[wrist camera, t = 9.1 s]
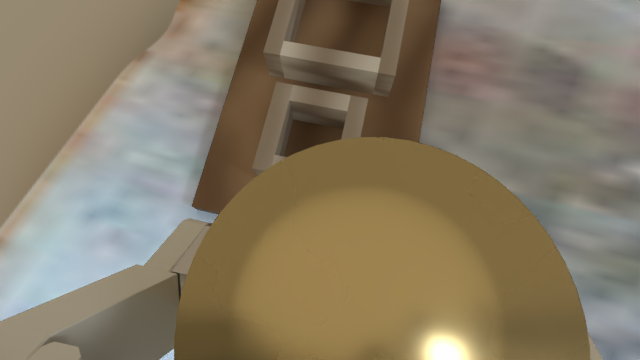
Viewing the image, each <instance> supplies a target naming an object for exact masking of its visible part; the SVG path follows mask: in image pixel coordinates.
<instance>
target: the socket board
mask: <svg viewBox="0 0 640 360" xmlns="http://www.w3.org/2000/svg"><path fill="white" fill-rule="evenodd" d="M440 4H441V0H257V3H256V6H255V9H254V12H253V16H252V19H251V22H250V25H249V28H248V31H247V34H246V37H245V41H244V44H243V47H242V50H241V53H240V56H239V59H238V63H237V66H236V69H235V72H234V75H233V78H232V81H231V84H230V88H229V91H228V94H227V97H226V100H225V103H224V106H223V110H222V113H221V116H220V119H219V122H218V125H217V128H216V131H215V135H214V138H213V141H212V144H211V147H210V150H209V153H208V157H207V160H206V163H205V166H204V169H203V172H202V175H201V178H200V182H199V185H198V188H197V191H196V194H195V197H194V200H193V204H192V207H194V208H196V209H198V210H202V211H207V212H212V213H216V214H219V213H220V212H221V211H222V210H223V209H224V208H225V206H226V205H227V204H228V203H229V202H230V201H231V200H232V198H233V197H234V196H235V195H236V194H237V193H238V192H239V191H240V190H242V189H243V188H244V187H245V186H246V185H247V184H248V183H249V182H250V181H252V180H253V179H254V178H255V177H257V176H258V175H259V174H261V173H262V172H264V171H265V170H267V169H268V168H269V167H271V166H272V165H274V164H276V163H278V162H280V161H281V160H283V159H285V158H287V157H289V156H291V155H293V154H295V153H297V152H300V151H303V150H305V149H308V148H311V147H313V146H316V145H320V144H324V143H328V142H332V141H336V140H342V139H351V138H359V137H387V138H395V139H402V140H409V141H413V142H417V143H419V138H420V132H421V125H422V119H423V113H424V106H425V100H426V93H427V87H428V81H429V74H430V68H431V61H432V55H433V49H434V42H435V36H436V29H437V23H438V16H439V10H440Z"/></svg>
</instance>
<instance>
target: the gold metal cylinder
mask: <svg viewBox="0 0 640 360" xmlns="http://www.w3.org/2000/svg"><path fill="white" fill-rule="evenodd" d="M174 360H591V359H590V344H589V338H588V332H587V327H586V321H585V316H584V312H583V309H582V306H581V302H580V299H579V296H578V292H577V289H576V287H575V284H574V282H573V280H572V277H571V275H570V273H569V270H568V268H567V266H566V263H565V261H564V260H563V258H562V256H561V255H560V253H559V251H558V249H557V248H556V246H555V244H554V242H553V241H552V239H551V237H550V236H549V235H548V233H547V232H546V231H545V229H544V228H543V227H542V225H541V224H540V223H539V221H538V220H537V218H536V217H535V216H534V215H533V214H532V213H531V212H530V211H529V209H528V208H527V207H526V206H525V205H524V204H523V203H522V202H521V201H520V200H519V199H518V198H517V197H516V196H515V195H514V194H513V193H512V192H511V191H509V190H508V189H507V188H506V187H505V186H503V185H502V184H501V183H500V182H499V181H498V180H496V179H495V178H493V177H492V176H490V175H489V174H487V173H486V172H484V171H483V170H481V169H480V168H478V167H477V166H475V165H473V164H471V163H470V162H468V161H466V160H464V159H462V158H460V157H458V156H456V155H454V154H451V153H449V152H446V151H443V150H441V149H438V148H436V147H433V146H430V145H426V144H422V143H417V142H413V141H409V140H402V139H395V138H387V137H359V138H351V139H342V140H336V141H332V142H328V143H324V144H320V145H316V146H313V147H311V148H308V149H305V150H303V151H300V152H297V153H295V154H293V155H291V156H289V157H287V158H285V159H283V160H281V161H280V162H278V163H276V164H274V165H272V166H271V167H269V168H268V169H267V170H265V171H264V172H262V173H261V174H259V175H258V176H257V177H255V178H254V179H253V180H252V181H250V182H249V183H248V184H247V185H246V186H245V187H244V188H243V189H242V190H240V191H239V192H238V193H237V194H236V195H235V196H234V197H233V198H232V200H231V201H230V202H229V203H228V204H227V205H226V206H225V208H224V209H223V210H222V211H221V212H220V213H219V215H218V216H217V218H216V219H215V221H214V222H213V224H212V225H211V227H210V228H209V230H208V231H207V233H206V234H205V236H204V238H203V240H202V242H201V244H200V246H199V248H198V250H197V251H196V253H195V255H194V257H193V260H192V263H191V265H190V268H189V271H188V273H187V276H186V279H185V282H184V285H183V289H182V293H181V297H180V302H179V306H178V310H177V319H176V328H175V336H174Z"/></svg>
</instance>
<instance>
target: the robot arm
mask: <svg viewBox="0 0 640 360" xmlns="http://www.w3.org/2000/svg"><path fill="white" fill-rule="evenodd" d="M211 225H212V223H210V224H209V223H206V222H202V221H198V220H193V219H186V220H184V221H182V222H181V223H180V225H179V226H178V227H177V228H176V229H175V230H174V232H173V233H172V234H171V235H170V236H169V237H168V238H167V240H166V241H165V242H164V243H163V244H162V245H161V247H160V248H159V249H158V250H157V251H156V252H155V253H154V255H153V256H152V257H151V258H150V259H149V260H148V262H147V263H146V264H145V265H144V266H141V265H135V266H132V267H130V268H127V269H125V270H123V271H120V272H118V273H115V274H113V275H111V276H108V277H106V278H103V279H101V280H99V281H96V282H94V283H91V284H89V285H87V286H84V287H82V288H79V289H77V290H75V291H72V292H70V293H67V294H65V295H63V296H60V297H58V298H55V299H53V300H51V301H48V302H46V303H43V304H41V305H39V306H36V307H34V308H31V309H29V310H27V311H24V312H22V313H19V314H17V315H15V316H12V317H10V318H8V319H5V320H3V321H0V360H159V359H160V358H162V357H163V356H164V355H166V354H167V353H168V352H170V351H171V350H172V349H174V336H175V328H176V319H177V310H178V306H179V302H180V297H181V293H182V289H183V285H184V282H185V279H186V276H187V273H188V271H189V268H190V265H191V263H192V260H193V257H194V255H195V253H196V251H197V250H198V248H199V246H200V244H201V242H202V240H203V238H204V236H205V234H206V233H207V231H208V230H209V228H210V227H211ZM588 338H589V344H590V359H591V360H603V358H602V357H601V355H600V353H599V351H598V350H597V348H596V346H595V344H594V343H593V341H592V339H591V337H590V336H589V334H588Z"/></svg>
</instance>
